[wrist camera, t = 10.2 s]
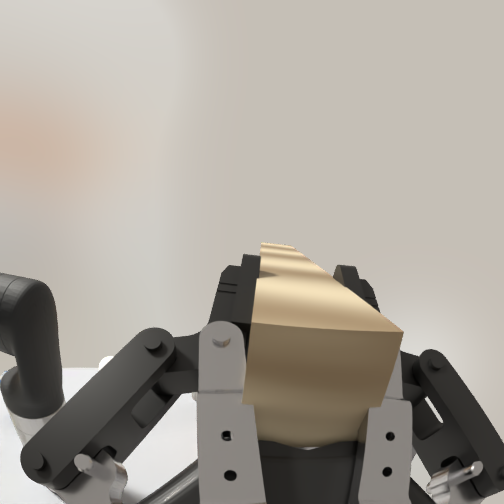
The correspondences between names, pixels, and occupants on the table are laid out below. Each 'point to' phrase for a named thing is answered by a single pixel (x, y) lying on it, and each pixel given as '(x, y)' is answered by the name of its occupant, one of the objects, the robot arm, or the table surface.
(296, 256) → the tan wooden bar
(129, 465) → the table surface
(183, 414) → the table surface
